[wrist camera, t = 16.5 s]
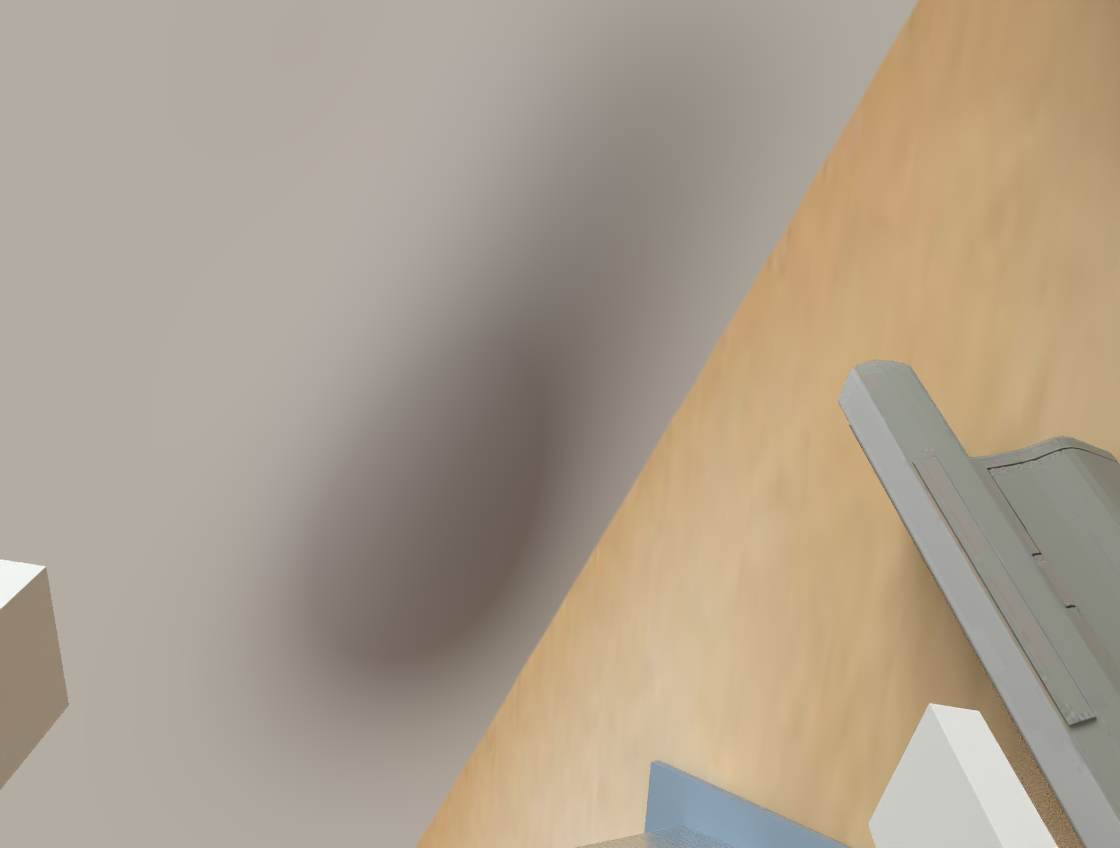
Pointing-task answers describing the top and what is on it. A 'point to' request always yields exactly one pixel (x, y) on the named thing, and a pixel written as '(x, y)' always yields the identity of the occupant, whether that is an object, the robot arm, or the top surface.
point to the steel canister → (665, 840)
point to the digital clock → (1016, 576)
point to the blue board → (721, 814)
